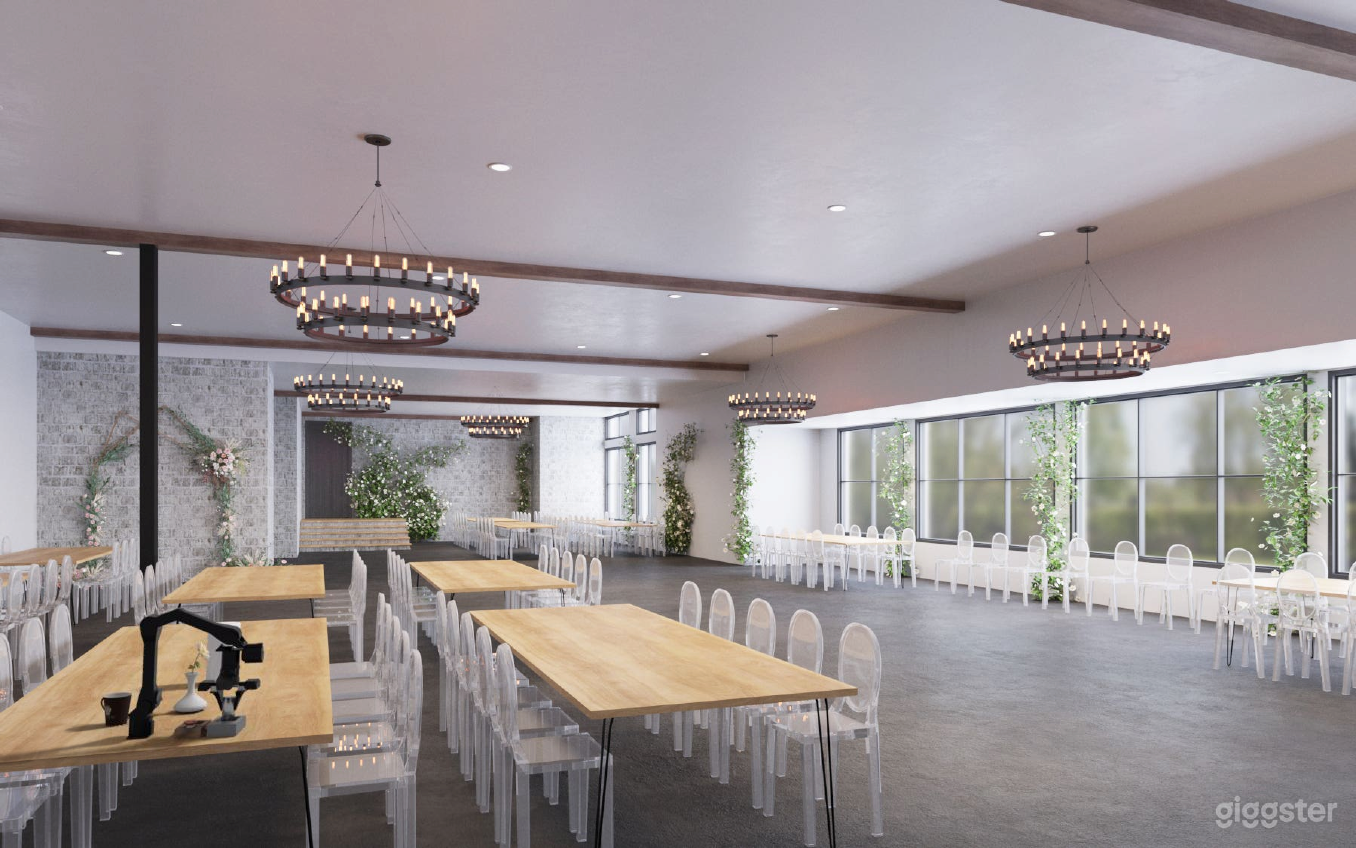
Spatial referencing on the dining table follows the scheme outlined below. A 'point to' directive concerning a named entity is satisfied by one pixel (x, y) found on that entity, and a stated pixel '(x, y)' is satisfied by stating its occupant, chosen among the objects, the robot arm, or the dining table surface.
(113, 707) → the coffee mug
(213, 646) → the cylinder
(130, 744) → the dining table surface
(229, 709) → the peg
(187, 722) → the pin
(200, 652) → the flower in vase
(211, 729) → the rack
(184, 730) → the socket block
